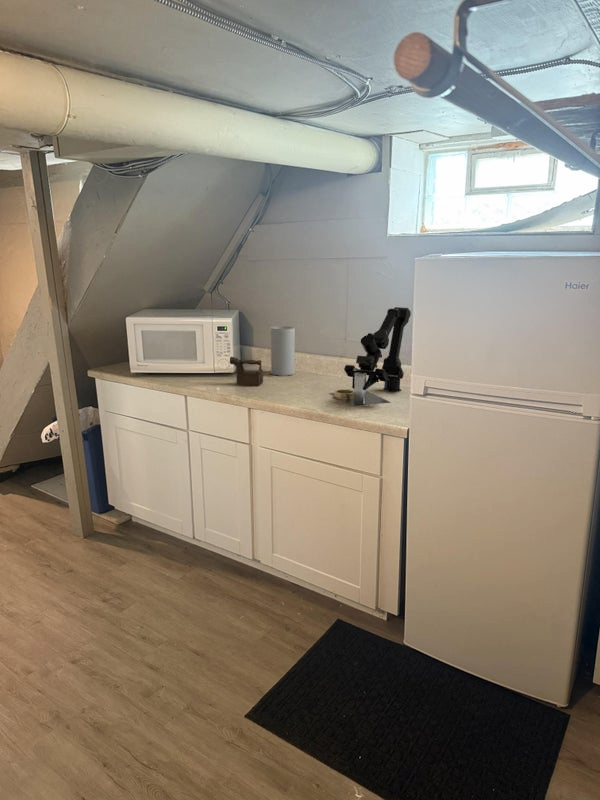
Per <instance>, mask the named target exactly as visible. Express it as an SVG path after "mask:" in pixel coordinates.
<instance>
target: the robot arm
mask: <svg viewBox="0 0 600 800" xmlns="http://www.w3.org/2000/svg"><path fill="white" fill-rule="evenodd" d="M386 313H387V314H386V316H385V318H384V319H383V321H382V323H381V325H380V327H379V329H378V330H377V331H375V332H374V333H370V332H369V333H367V334H366V335H364V336H363V337H361V338H360V344H361V346H362V348H363V350H364V352H365V353H366V355H365V356H364V355H357V356H356V360H355V364H358V368H356V366H355V365H353V364H345V365H344V368H343V370H344V372H345V374H346V376H347V377H350V378H352V385H351V386H352V389H353V390H354V379H355V375H354V373H355V372H366V373H367V375H366V376H368V378H367V379H366V384H365V386H364V390H366V391H367V389H369V388H370V387H371V386H373V385H374V384H376V383H379V382H384V383H383V385H384V387H383V389H384V390H385V391H388V392H399V391H402V389H401V386H400V385H401V379H403V378H404V371H403V368H402V361H401V360H400V352H401V347H402V340H403V334H404V329H405V326H407V324H408V323H409V321H410V318H411V315H412V312H411V310H410V309H409V307H400V306H399V307H397V306H395V307H393V308H389V309H387V312H386ZM391 332H392V334H391V341H390V339H389V336H390V333H391ZM389 342H390V343H389ZM389 344H390V346H389ZM388 346H389V351H388V356H387V357H385V358H384V359H383V362H382V367H381V368H378V362H379V360H380V359H381V358H382V357H383V355H382V351H381V350H385V349H387V348H388Z"/></svg>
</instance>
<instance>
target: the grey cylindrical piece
mask: <svg viewBox="0 0 600 800" xmlns="http://www.w3.org/2000/svg"><path fill="white" fill-rule="evenodd" d="M354 375H355V379H354V389H353V391H354V403H355V404H365V402H366V391H367V389H366V390H364V386H365V384H366V382H367V376H368V375H367V373H366V372H355V373H354Z"/></svg>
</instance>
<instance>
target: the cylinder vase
mask: <svg viewBox="0 0 600 800" xmlns="http://www.w3.org/2000/svg"><path fill="white" fill-rule="evenodd" d="M295 333H296V332H295V327H294V326H287V325H286V326H285V325H284V326H283V325H281V326H280V325H279V326H277V325H276V326H271V327H270V338H271V339H270V347H271V348H270V372H271V373H270V374H272V375H273V376H276V375H278V376H279V377H288V375H289V376H292V375H294V374H295V343H296V341H295V340H296V339H295V335H296V334H295Z"/></svg>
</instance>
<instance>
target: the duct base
mask: <svg viewBox="0 0 600 800" xmlns="http://www.w3.org/2000/svg"><path fill="white" fill-rule="evenodd" d="M328 395H331V396H332V397H334V398H336V399H338V400H339V401H341V402H343V403H345V404H346V405H348V406H350V407H356V406H358V407H359V406H369V405H377V404H378V405H379V404H380V405H381V404H391V403H392V402H391V401H388V400H386V399H384V398H383V397H380V396H379V395H377V394H375V393H372V392H371V391H368V390H366V402H365V404H355V403H354V389H353V390H351V389H337V390H335V391H334V392H330V393H328Z"/></svg>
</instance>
